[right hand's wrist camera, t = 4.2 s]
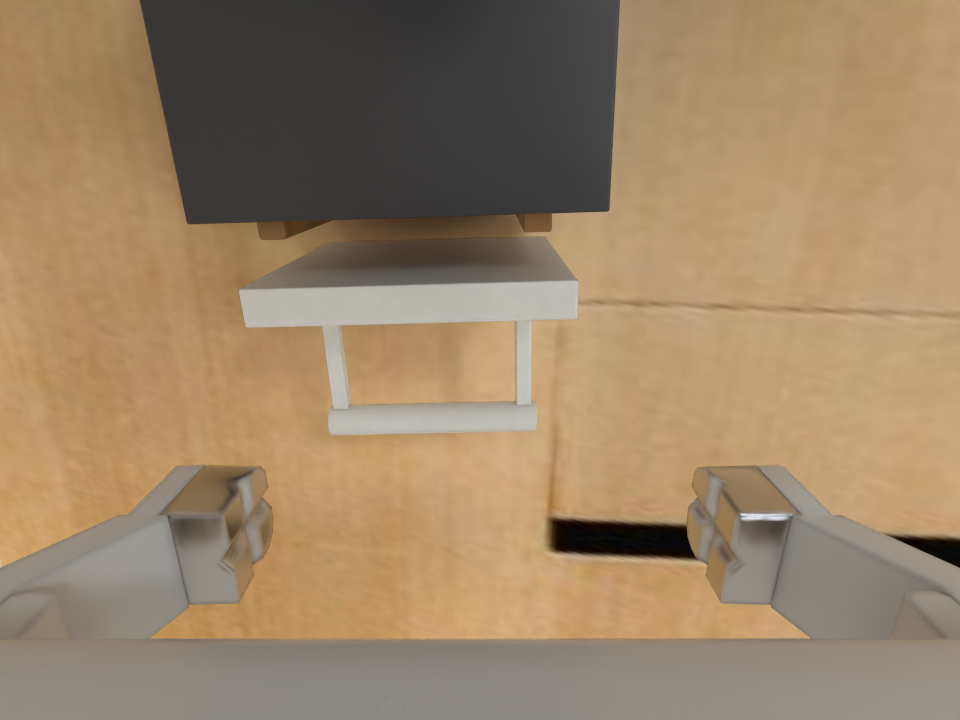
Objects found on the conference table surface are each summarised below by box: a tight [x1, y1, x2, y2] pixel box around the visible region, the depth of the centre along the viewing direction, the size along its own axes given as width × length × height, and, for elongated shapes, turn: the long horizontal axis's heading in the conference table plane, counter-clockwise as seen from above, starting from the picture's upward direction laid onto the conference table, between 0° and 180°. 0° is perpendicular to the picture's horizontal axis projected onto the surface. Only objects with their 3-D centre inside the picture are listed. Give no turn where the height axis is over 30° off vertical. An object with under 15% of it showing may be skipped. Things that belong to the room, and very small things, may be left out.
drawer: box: [239, 213, 578, 435], centre depth 20 cm, size 19×10×10 cm, turn 2°
